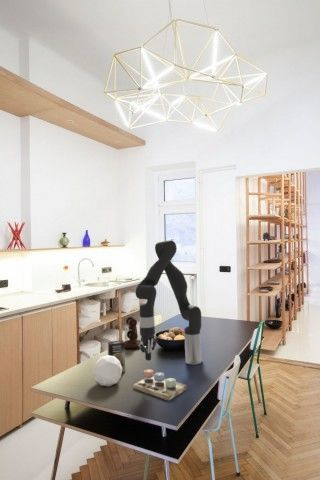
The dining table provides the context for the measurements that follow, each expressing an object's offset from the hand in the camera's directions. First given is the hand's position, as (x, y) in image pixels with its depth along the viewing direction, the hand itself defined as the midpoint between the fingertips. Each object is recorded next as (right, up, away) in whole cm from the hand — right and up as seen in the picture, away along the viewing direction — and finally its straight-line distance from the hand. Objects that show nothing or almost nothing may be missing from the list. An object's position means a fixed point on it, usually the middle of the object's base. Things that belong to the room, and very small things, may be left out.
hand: (148, 360), depth 165 cm
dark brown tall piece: (-13, -14, +64) cm, 67 cm away
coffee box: (-18, -14, +21) cm, 31 cm away
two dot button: (0, -8, 0) cm, 8 cm away
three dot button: (+6, -8, -4) cm, 10 cm away
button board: (+6, -12, -5) cm, 14 cm away
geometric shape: (-21, -14, +3) cm, 25 cm away
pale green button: (+11, -9, -9) cm, 17 cm away
